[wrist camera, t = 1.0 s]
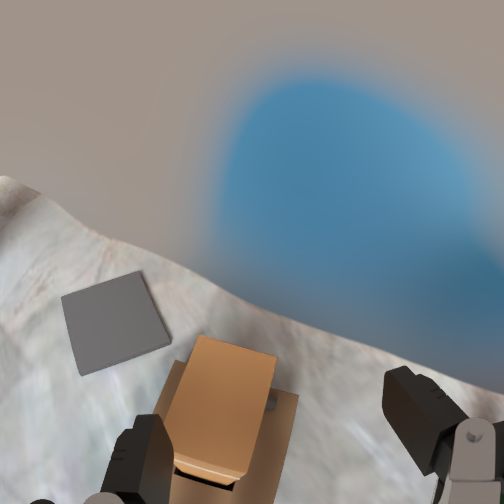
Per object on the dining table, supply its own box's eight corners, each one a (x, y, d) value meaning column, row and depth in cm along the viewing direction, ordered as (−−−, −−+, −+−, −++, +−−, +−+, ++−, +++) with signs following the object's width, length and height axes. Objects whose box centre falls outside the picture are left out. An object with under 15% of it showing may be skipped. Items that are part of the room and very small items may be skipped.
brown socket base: (289, 407, 30) (302, 390, 27) (256, 531, 20) (266, 537, 17) (178, 375, 31) (174, 354, 28) (131, 493, 21) (117, 491, 18)
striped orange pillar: (242, 432, 28) (278, 356, 15) (226, 487, 24) (247, 474, 11) (202, 420, 28) (198, 333, 15) (183, 474, 24) (153, 445, 11)
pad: (81, 376, 29) (79, 373, 28) (62, 300, 35) (60, 296, 35) (170, 344, 34) (170, 340, 33) (139, 274, 40) (138, 270, 39)
